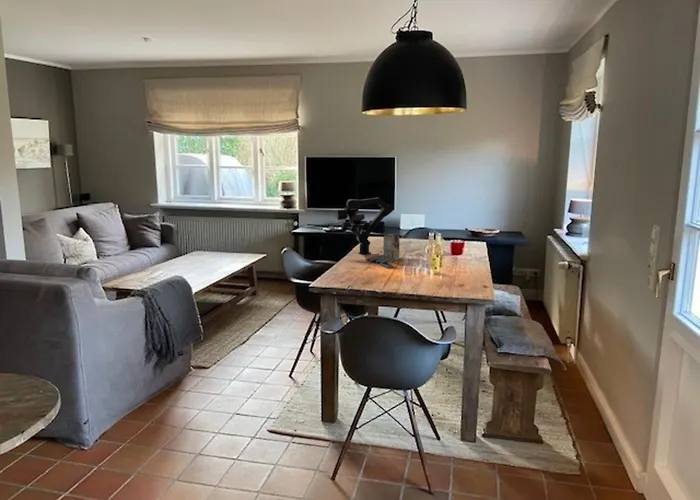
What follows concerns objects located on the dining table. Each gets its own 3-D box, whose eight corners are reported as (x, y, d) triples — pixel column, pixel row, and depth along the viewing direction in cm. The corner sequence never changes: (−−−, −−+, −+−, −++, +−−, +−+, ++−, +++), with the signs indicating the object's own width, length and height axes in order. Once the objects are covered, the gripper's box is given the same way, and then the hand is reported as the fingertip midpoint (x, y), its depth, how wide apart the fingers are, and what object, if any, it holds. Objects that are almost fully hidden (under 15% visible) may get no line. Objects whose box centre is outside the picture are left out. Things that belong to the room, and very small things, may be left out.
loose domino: (365, 257, 338) (372, 254, 329) (371, 256, 340) (378, 253, 331) (365, 260, 338) (373, 256, 329) (371, 259, 340) (379, 256, 331)
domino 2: (375, 259, 329) (383, 255, 320) (381, 259, 331) (390, 255, 323) (375, 262, 329) (384, 258, 320) (382, 262, 331) (390, 258, 322)
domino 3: (379, 260, 324) (388, 257, 315) (385, 260, 326) (394, 257, 318) (380, 263, 324) (388, 260, 315) (386, 263, 326) (395, 260, 317)
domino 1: (369, 258, 334) (377, 255, 325) (375, 258, 336) (383, 254, 328) (369, 261, 334) (378, 258, 325) (375, 260, 336) (384, 257, 327)
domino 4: (379, 263, 322) (387, 266, 313) (386, 262, 324) (394, 265, 314) (379, 266, 322) (387, 269, 313) (386, 265, 324) (394, 269, 315)
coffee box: (391, 258, 344) (391, 233, 341) (399, 259, 340) (399, 234, 338) (383, 260, 337) (383, 235, 334) (391, 261, 333) (392, 236, 330)
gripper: (343, 209, 344) (349, 229, 335) (370, 209, 351) (376, 229, 342) (338, 220, 352) (344, 239, 344) (364, 220, 359) (370, 239, 351)
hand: (359, 236), depth 345 cm, fingers closed
